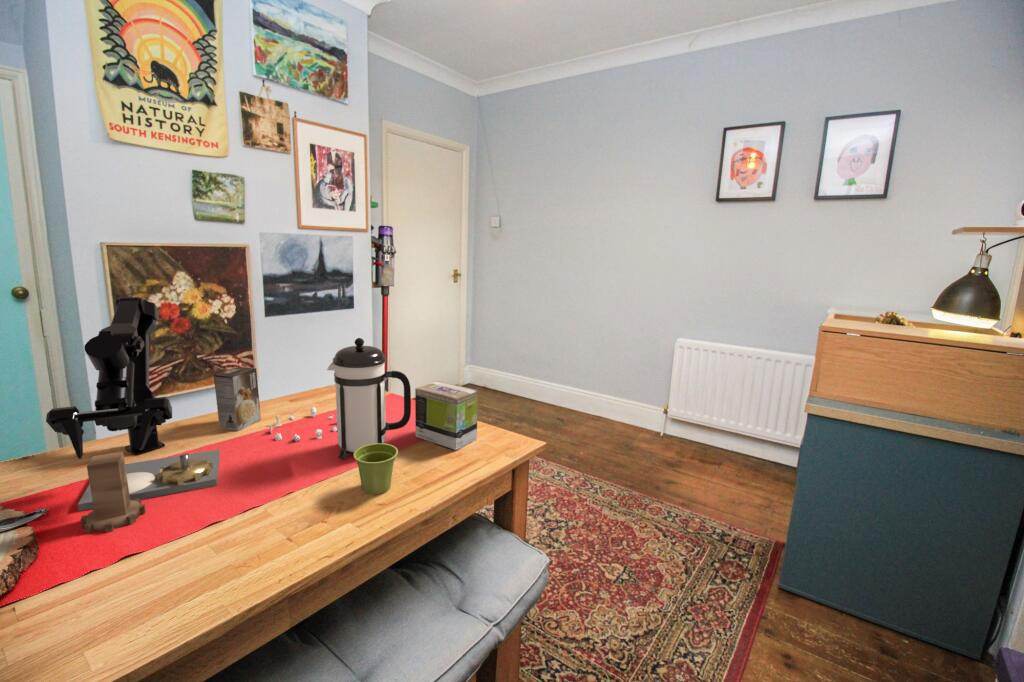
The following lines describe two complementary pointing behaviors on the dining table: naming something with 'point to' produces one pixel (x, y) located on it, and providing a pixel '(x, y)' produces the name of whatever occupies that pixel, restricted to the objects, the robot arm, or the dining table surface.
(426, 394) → the tea box
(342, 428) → the coffee press
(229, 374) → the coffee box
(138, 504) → the walnut gear
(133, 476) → the gear board
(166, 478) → the brass gear
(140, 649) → the dining table surface
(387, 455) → the plant pot
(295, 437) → the game piece set
